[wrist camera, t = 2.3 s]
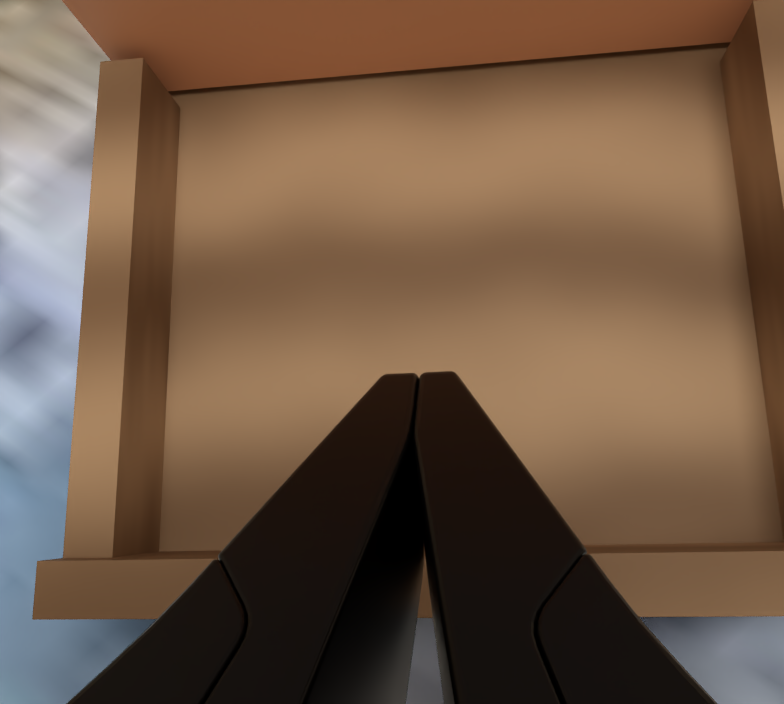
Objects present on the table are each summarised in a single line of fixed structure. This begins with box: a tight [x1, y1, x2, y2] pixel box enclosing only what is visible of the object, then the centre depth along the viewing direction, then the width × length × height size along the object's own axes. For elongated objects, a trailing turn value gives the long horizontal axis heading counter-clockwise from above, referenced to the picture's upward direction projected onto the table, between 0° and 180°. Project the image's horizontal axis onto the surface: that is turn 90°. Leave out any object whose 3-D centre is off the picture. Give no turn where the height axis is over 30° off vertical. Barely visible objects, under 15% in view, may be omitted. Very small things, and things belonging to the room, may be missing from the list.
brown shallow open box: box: [32, 0, 784, 619], centre depth 19 cm, size 16×18×6 cm
